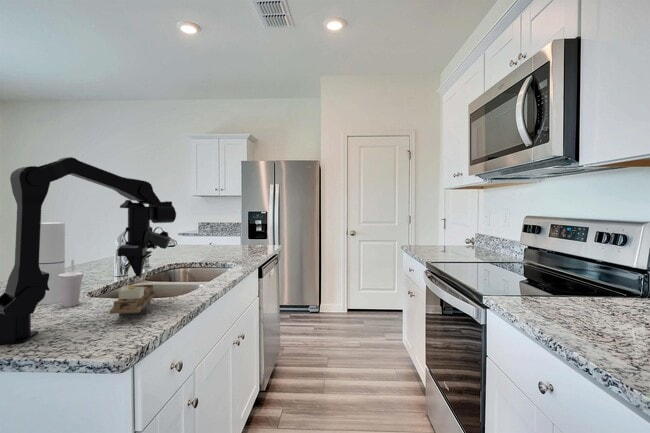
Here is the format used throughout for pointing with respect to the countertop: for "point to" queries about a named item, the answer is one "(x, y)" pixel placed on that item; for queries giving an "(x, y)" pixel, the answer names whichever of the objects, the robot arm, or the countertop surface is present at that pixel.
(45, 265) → the cylindrical container
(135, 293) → the block
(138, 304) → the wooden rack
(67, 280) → the smoothie
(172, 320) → the countertop surface
